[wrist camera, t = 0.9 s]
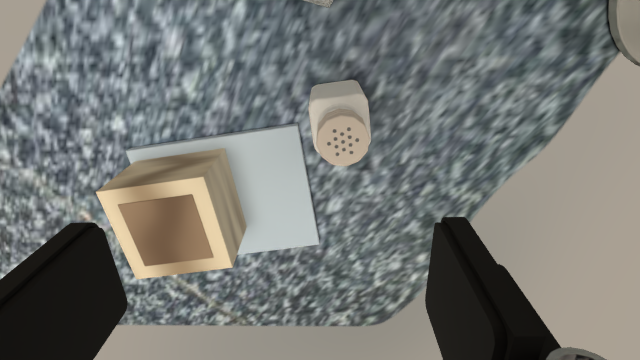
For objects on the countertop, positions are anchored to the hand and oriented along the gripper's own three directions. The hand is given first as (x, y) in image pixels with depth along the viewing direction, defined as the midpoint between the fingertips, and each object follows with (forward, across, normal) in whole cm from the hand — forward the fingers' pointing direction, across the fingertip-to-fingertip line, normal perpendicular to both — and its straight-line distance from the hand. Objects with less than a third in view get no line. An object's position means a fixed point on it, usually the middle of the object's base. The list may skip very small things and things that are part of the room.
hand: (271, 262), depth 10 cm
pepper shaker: (+22, -2, +1) cm, 22 cm away
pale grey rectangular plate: (+21, +8, +9) cm, 24 cm away
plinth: (+20, +11, +8) cm, 24 cm away
